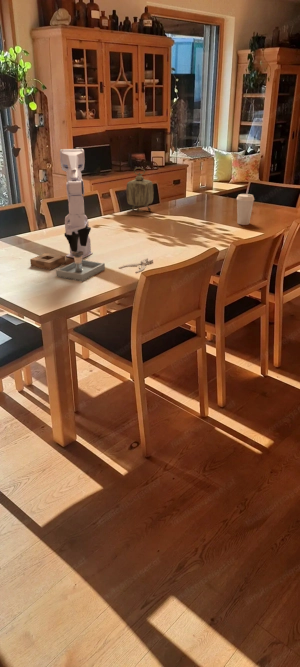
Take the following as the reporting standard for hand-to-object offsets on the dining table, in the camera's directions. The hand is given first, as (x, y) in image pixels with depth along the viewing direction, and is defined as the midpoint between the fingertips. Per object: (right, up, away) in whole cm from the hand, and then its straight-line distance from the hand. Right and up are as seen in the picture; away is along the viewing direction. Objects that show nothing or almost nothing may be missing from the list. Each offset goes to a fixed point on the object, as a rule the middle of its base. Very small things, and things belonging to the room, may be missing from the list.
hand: (78, 248), depth 194 cm
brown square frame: (-15, -4, +13) cm, 20 cm away
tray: (0, -9, +4) cm, 10 cm away
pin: (-1, -8, +4) cm, 9 cm away
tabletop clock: (+21, +40, +104) cm, 114 cm away
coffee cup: (+79, +27, +78) cm, 114 cm away
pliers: (+23, -6, +12) cm, 27 cm away
